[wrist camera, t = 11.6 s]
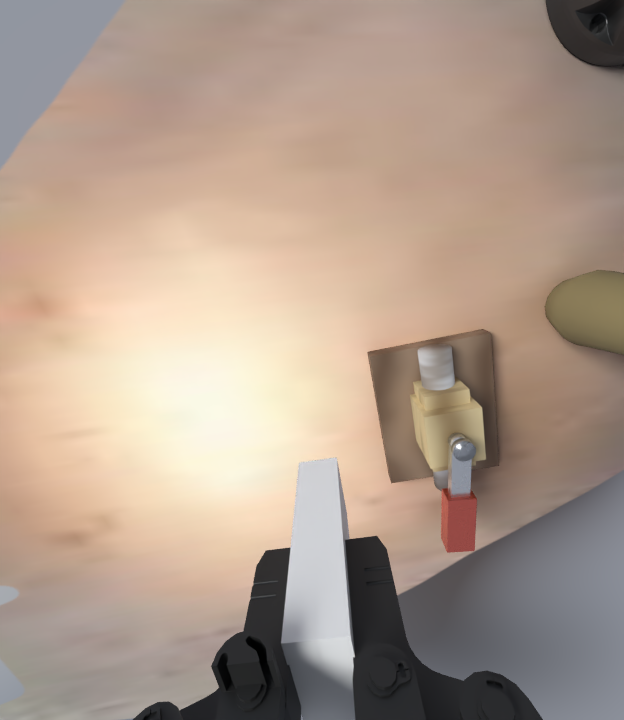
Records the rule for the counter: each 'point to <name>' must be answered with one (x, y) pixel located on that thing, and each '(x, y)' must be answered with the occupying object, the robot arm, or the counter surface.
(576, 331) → the squeeze bottle
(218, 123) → the counter surface
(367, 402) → the counter surface
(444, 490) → the lever
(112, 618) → the counter surface
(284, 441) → the counter surface
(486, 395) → the valve board
